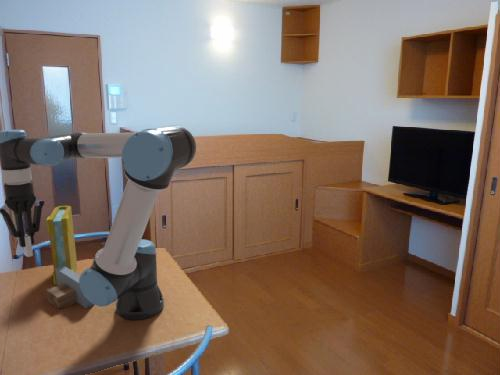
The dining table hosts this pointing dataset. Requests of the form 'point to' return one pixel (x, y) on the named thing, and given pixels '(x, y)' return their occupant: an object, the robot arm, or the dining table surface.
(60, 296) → the brown rectangular block
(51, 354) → the dining table surface
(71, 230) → the yellow rounded trough
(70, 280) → the slate board
